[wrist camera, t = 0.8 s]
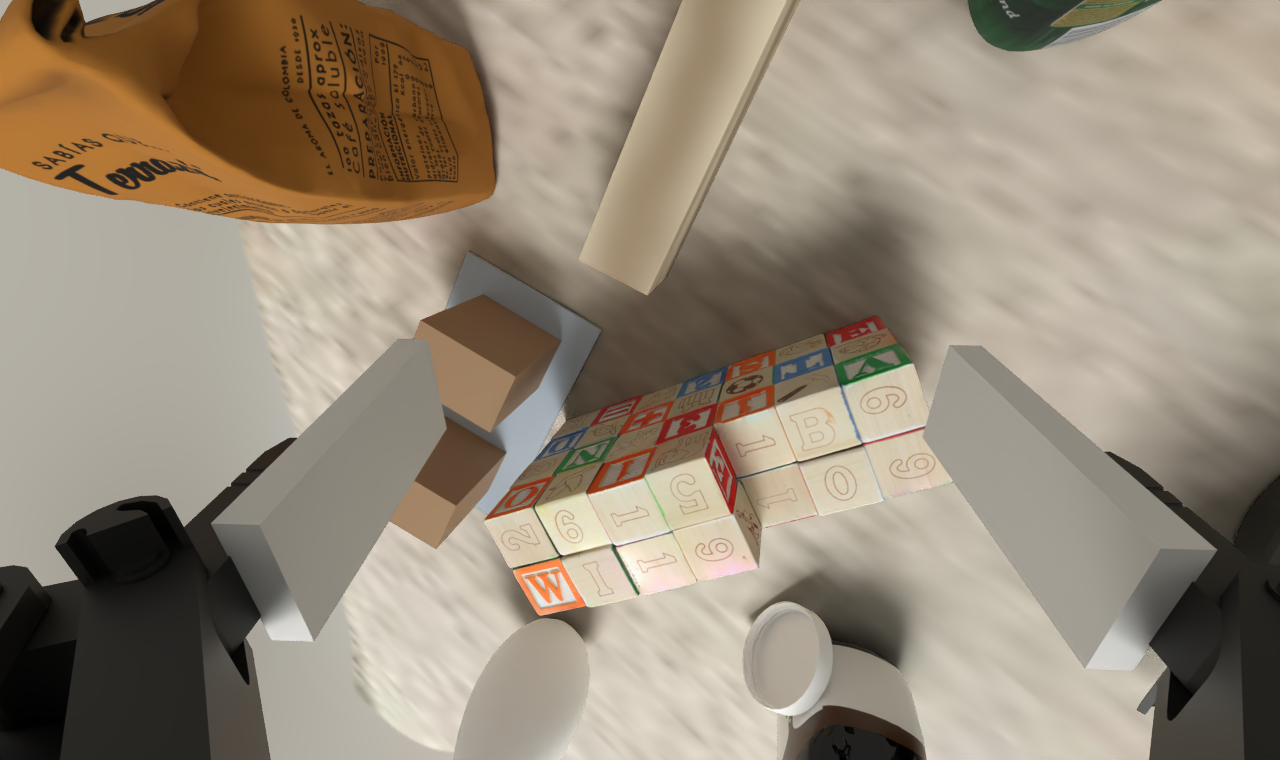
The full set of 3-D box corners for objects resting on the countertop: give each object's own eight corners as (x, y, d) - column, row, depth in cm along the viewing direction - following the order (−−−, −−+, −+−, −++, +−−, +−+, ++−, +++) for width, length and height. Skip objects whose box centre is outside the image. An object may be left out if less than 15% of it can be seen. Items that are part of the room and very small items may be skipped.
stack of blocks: (878, 310, 31) (938, 386, 20) (910, 405, 33) (982, 527, 21) (564, 420, 38) (477, 522, 27) (602, 494, 40) (534, 620, 29)
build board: (602, 329, 35) (562, 366, 29) (502, 520, 43) (452, 585, 36) (469, 251, 35) (399, 269, 29) (393, 454, 43) (323, 506, 36)
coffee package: (304, 46, 33) (-413, -149, 13) (492, 33, 31) (-45, -235, 11) (337, 216, 37) (-188, 269, 17) (508, 218, 34) (129, 282, 14)
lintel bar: (831, -64, 26) (846, -127, 20) (667, 275, 33) (647, 295, 28) (755, -100, 26) (751, -172, 21) (609, 245, 33) (578, 259, 28)
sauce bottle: (501, 630, 47) (355, 876, 30) (543, 576, 44) (405, 818, 27) (576, 681, 47) (470, 954, 31) (624, 631, 44) (534, 906, 27)
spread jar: (861, 739, 42) (891, 929, 32) (720, 686, 44) (703, 851, 33) (929, 628, 38) (990, 808, 27) (768, 573, 39) (766, 723, 28)
